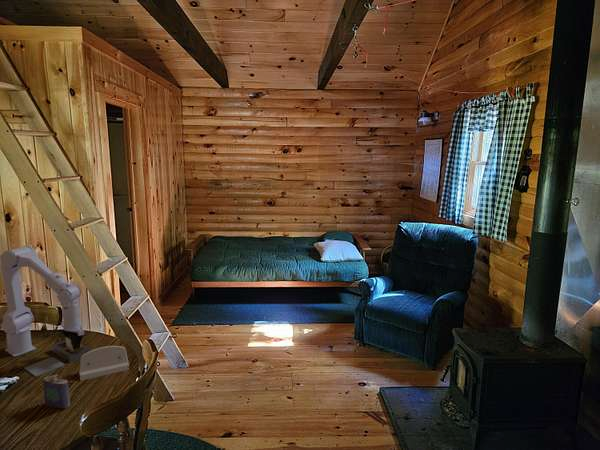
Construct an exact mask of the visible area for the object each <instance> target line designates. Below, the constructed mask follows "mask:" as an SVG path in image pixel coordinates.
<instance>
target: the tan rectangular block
mask: <svg viewBox="0 0 600 450" xmlns="http://www.w3.org/2000/svg"><path fill="white" fill-rule="evenodd" d="M65 340H66V348H67V352H68V353H70V354H72V353H74V352H77V351H80V350H82V345H83V343H81V345H80V348H79V349H76V350H74V349H73V345H72V341H71V339H70V337H69V336H67V337H66V339H65Z"/></svg>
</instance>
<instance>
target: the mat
mask: <svg viewBox="0 0 600 450" xmlns="http://www.w3.org/2000/svg"><path fill="white" fill-rule="evenodd" d="M65 365H66V364H65V363H64V362H62V361H60V360H59V359H58V358H56V357H54V356H51V357H48V358H46V359H43V360H39V361H38V362H35V363H32V364H30V365H27V366H24V367H23V369H24V370H26V371H27V372H28V373H29V374H31V375H32V376H34V377H35V378H36V377H40V376H42V375H45V374H47V373H49V372H52V371H54V370H57V369H59V368H61V367H64V366H65Z"/></svg>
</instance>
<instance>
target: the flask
mask: <svg viewBox="0 0 600 450" xmlns="http://www.w3.org/2000/svg"><path fill="white" fill-rule="evenodd" d="M58 377H59V375H58V374H57V373H56V374H52V375H49V376H45V377H44V378H43V379H42V382H43V392H44V393H43V396H44V406H46V407H49V408H53V409H59V410H67V409H68V408H69V407H71V401H70V391H69V380H68V379H62V378H60V379H59V378H58Z"/></svg>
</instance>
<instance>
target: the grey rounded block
mask: <svg viewBox="0 0 600 450" xmlns="http://www.w3.org/2000/svg"><path fill="white" fill-rule="evenodd" d="M79 360H80V361H79V372H78V373H79V379H80V382H81V381H84V380H89V379H95V378H98V377H103V376H108V375H113V374H116V373H120V372H121V373H122V372H125V371H128V370H129V368H130V367H129V365H130V363H129V359H128V355H127V350H126V348H125V346H123V345H122V346H121V345H105V346H101V347H100V346H99V347H97V348H94V349H90V351H89V352H87V353H85V354H83V355H82V356H81V358H80V359H79Z"/></svg>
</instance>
